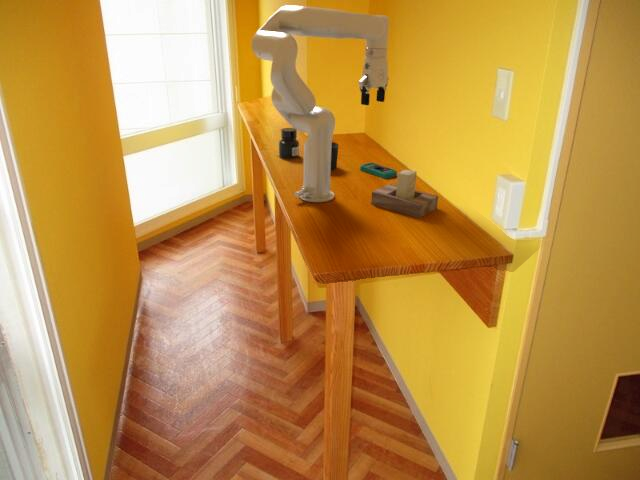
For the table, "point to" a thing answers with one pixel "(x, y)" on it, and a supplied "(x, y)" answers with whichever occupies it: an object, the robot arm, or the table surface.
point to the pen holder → (334, 155)
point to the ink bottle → (288, 143)
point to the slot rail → (404, 201)
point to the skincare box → (406, 184)
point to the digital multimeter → (378, 170)
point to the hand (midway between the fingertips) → (372, 103)
